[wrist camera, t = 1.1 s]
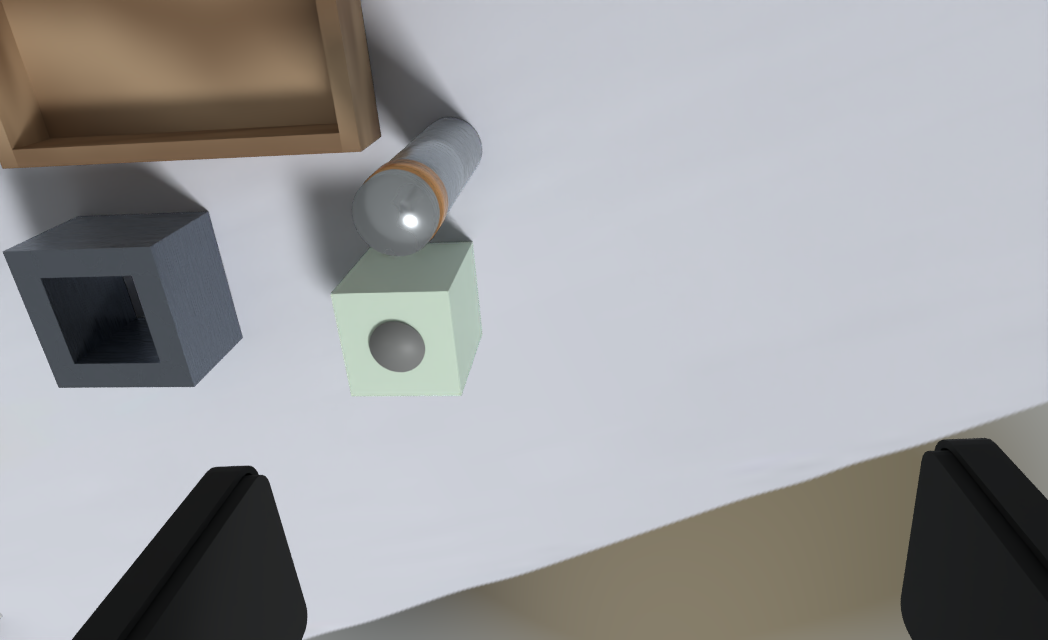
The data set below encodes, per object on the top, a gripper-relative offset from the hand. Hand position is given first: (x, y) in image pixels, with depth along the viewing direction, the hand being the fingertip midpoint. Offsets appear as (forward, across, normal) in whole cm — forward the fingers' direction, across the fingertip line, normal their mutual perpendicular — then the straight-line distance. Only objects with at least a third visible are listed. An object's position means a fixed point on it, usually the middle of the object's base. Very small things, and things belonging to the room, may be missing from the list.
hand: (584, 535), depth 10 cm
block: (+25, +22, +4) cm, 33 cm away
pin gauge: (+24, +6, -2) cm, 25 cm away
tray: (+24, +17, -9) cm, 31 cm away
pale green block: (+24, +8, +5) cm, 26 cm away
